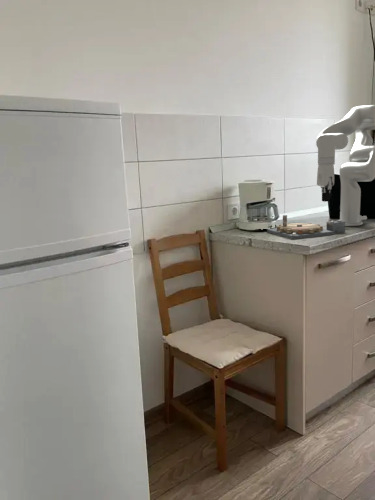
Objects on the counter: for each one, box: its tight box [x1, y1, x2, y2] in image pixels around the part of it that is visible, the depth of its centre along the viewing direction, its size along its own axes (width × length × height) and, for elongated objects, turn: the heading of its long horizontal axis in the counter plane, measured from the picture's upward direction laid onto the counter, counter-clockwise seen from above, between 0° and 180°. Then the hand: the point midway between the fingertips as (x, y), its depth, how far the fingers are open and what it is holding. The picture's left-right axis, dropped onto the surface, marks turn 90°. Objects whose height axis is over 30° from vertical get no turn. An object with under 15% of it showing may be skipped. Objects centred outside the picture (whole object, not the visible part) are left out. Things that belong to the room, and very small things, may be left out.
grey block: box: [326, 219, 346, 234], centre depth 203 cm, size 4×7×6 cm, turn 110°
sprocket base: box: [266, 227, 335, 240], centre depth 204 cm, size 22×22×2 cm
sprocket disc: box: [276, 214, 324, 234], centre depth 203 cm, size 21×21×7 cm
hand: (325, 201), depth 203 cm, fingers closed
